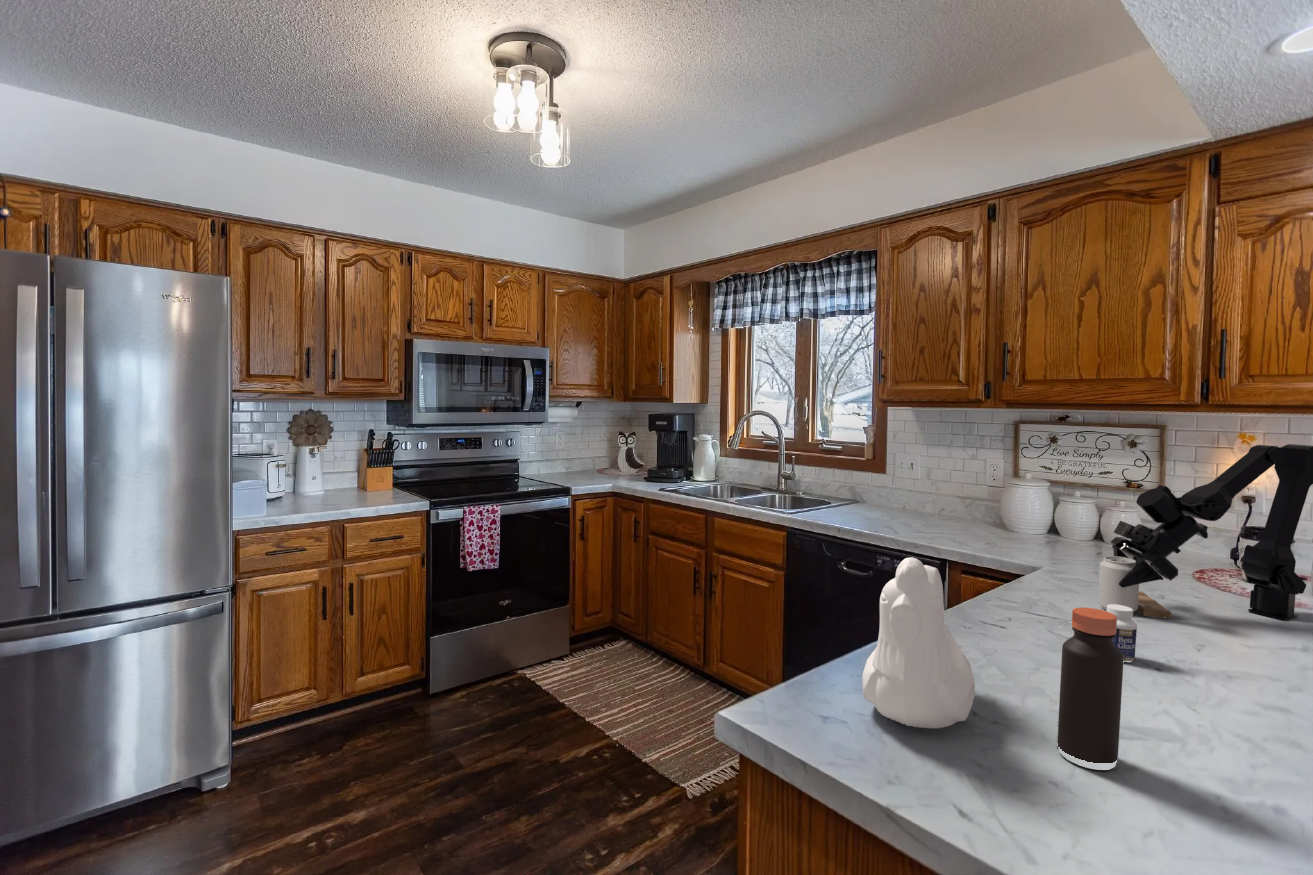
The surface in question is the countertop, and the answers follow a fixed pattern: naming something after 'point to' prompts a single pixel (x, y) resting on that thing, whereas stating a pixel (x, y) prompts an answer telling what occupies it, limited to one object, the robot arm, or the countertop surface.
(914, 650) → the decorative rooster
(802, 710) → the countertop surface
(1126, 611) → the pill bottle
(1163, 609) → the plank
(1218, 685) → the countertop surface
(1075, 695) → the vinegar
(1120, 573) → the can
